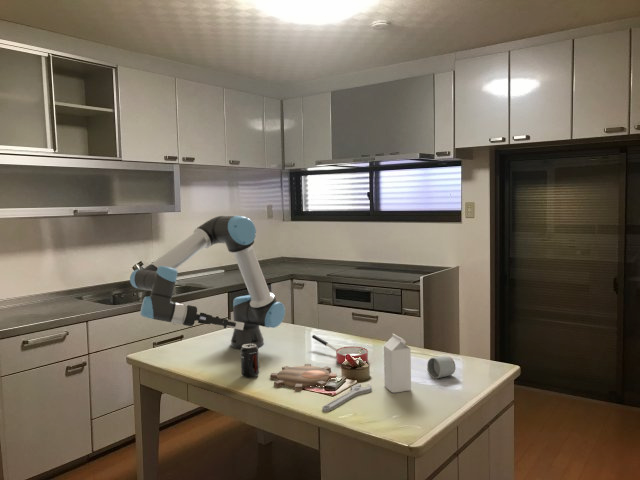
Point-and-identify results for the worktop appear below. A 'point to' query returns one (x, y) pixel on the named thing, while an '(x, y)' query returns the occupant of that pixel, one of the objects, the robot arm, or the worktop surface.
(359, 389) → the adjustable wrench
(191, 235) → the robot arm
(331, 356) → the worktop surface
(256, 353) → the beverage can
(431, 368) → the ceramic mug
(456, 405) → the worktop surface
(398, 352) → the milk carton
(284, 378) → the sprocket plate
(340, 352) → the red saucepan
